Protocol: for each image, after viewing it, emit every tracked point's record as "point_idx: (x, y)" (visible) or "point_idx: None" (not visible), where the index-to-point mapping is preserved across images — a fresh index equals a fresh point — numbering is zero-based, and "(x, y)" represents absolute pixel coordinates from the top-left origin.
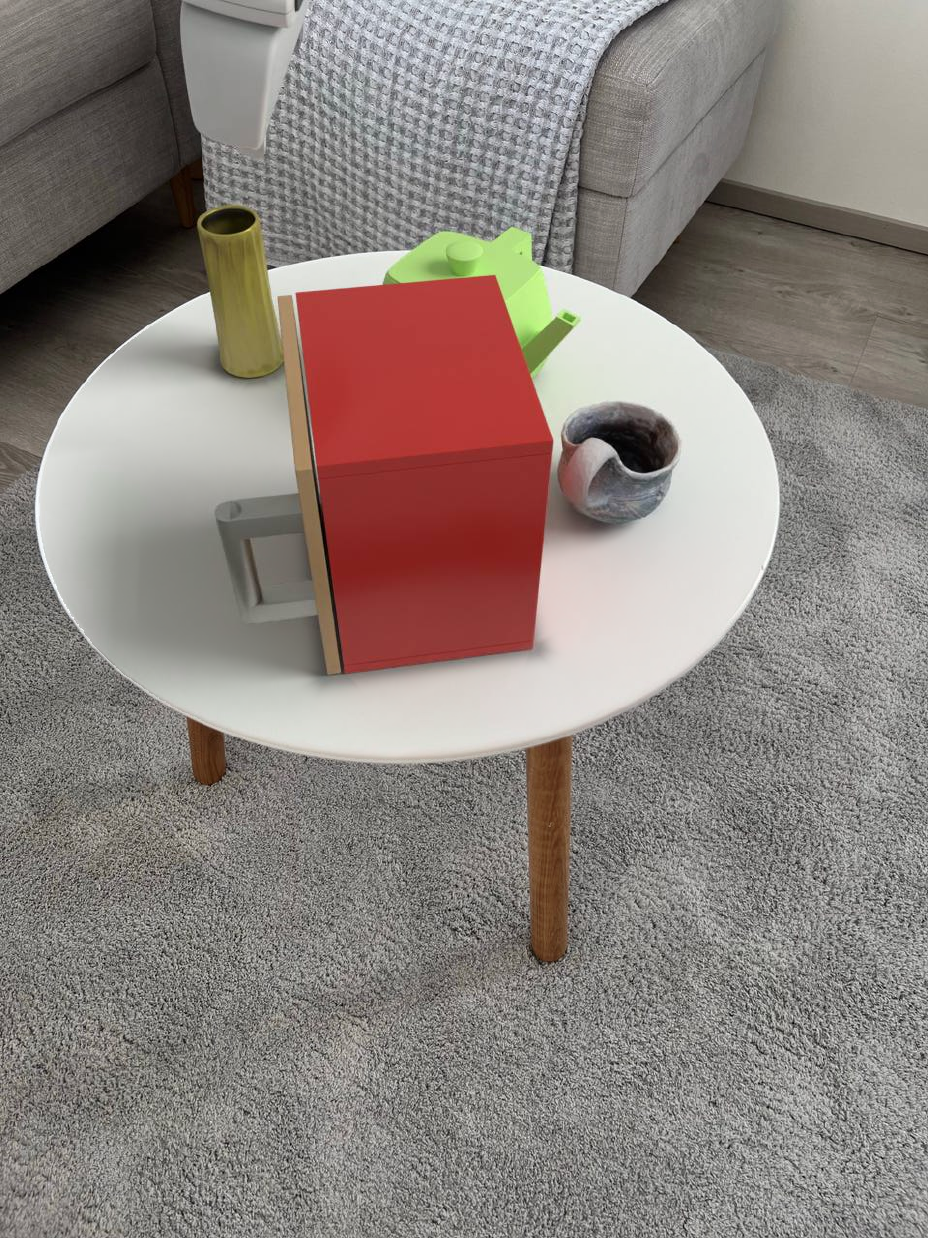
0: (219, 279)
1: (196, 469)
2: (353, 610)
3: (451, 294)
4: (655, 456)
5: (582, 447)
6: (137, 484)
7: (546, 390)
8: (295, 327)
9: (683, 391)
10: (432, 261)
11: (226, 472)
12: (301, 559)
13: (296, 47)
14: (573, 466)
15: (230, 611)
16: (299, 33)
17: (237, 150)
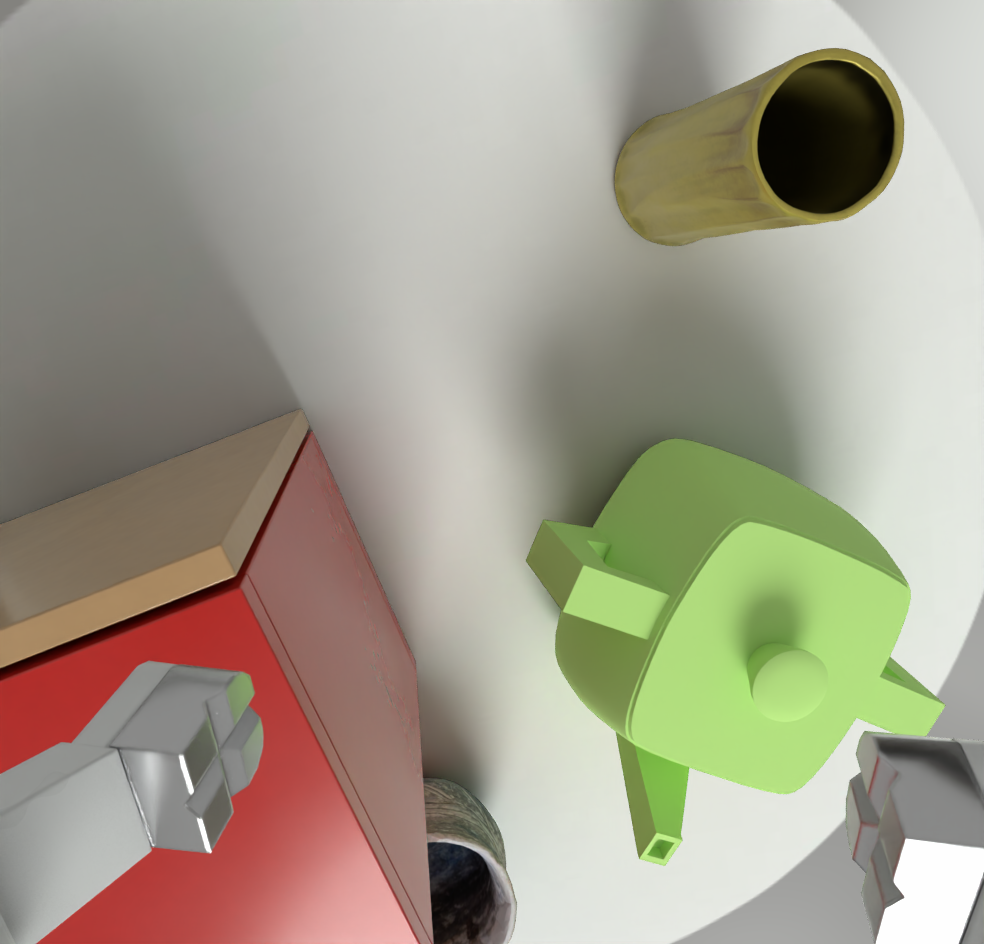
0: (702, 134)
1: (344, 177)
2: None
3: (332, 916)
4: (457, 918)
5: None
6: (277, 75)
7: None
8: (98, 629)
9: (681, 877)
10: (792, 599)
11: (349, 237)
12: (178, 432)
13: (852, 830)
14: None
15: (32, 356)
16: (871, 923)
17: (143, 663)
